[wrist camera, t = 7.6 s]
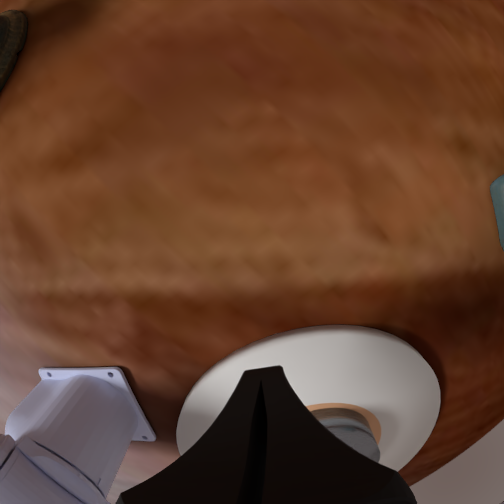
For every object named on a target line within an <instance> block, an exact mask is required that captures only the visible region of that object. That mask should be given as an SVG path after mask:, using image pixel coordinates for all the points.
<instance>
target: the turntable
mask: <svg viewBox="0 0 504 504" xmlns="http://www.w3.org/2000/svg"><path fill="white" fill-rule="evenodd" d="M276 365H280V366H282V367H283V370H284V373H285V376H286V378H287V380H288V382H289V383H290V385H291V387H292V388H293V390H294V391H295V393H296V394H297V396H298V397H299V399H300V400H301V401H302V403H303V404H304V405H305V406H306V407H307V409H308V410H309V411H313V410H317V409H323V408H346V409H350V410H354V411H356V412H358V413H360V414H362V415H363V416H364V417H365V418H366V419H367V421H368V423H369V425H370V428H371V430H372V432H373V435H374V437H375V440H376V442H377V445H378V447H379V450H380V460H379V463H380V464H382V465H384V466H386V467H389V468H391V469H393V470H396V471H397V472H398V471H399V470H400V469H401V468H402V467H404V466H405V465H406V464H407V463H408V462H409V461H410V460H411V459H412V458H413V457H414V456H415V455H416V454H417V453H418V451H419V450H420V449H421V448H422V446H423V445H424V444H425V442H426V440H427V439H428V437H429V436H430V434H431V432H432V430H433V428H434V426H435V423H436V420H437V417H438V414H439V409H440V402H441V400H440V388H439V383H438V380H437V378H436V375H435V373H434V371H433V369H432V368H431V367H430V366H429V364H428V363H427V362H426V361H425V360H424V358H423V357H422V356H421V355H420V354H419V352H418V351H417V350H416V349H414V348H413V347H412V346H411V345H410V344H408V343H407V342H406V341H404V340H402V339H400V338H398V337H397V336H395V335H393V334H390V333H387V332H384V331H381V330H378V329H373V328H368V327H363V326H355V325H318V326H312V327H305V328H298V329H294V330H290V331H286V332H282V333H278V334H274V335H271V336H268V337H266V338H263V339H260V340H257V341H255V342H252V343H250V344H248V345H246V346H244V347H242V348H240V349H238V350H236V351H234V352H232V353H231V354H229V355H228V356H226V357H225V358H223V359H221V360H220V361H218V362H217V363H216V364H215V365H213V366H212V367H211V368H210V369H209V370H207V371H206V372H205V373H204V374H203V375H202V376H201V378H200V379H199V380H198V381H197V382H196V383H195V384H194V386H193V387H192V389H191V390H190V392H189V394H188V395H187V397H186V400H185V402H184V405H183V407H182V410H181V413H180V416H179V419H178V424H177V430H176V438H177V446H178V450H179V453H180V455H181V456H182V455H183V454H184V453H185V452H186V451H187V450H188V449H189V448H191V447H192V446H193V445H194V444H195V443H196V442H197V441H198V440H199V438H200V437H201V436H202V435H203V434H204V433H205V432H206V431H207V429H208V428H209V427H210V426H211V425H212V423H213V422H214V421H215V419H216V418H217V416H218V415H219V414H220V412H221V411H222V409H223V408H224V406H225V405H226V403H227V402H228V400H229V398H230V397H231V395H232V393H233V391H234V390H235V388H236V386H237V384H238V382H239V380H240V378H241V376H242V374H243V372H244V371H245V370H250V369H257V368H264V367H270V366H276Z"/></svg>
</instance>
